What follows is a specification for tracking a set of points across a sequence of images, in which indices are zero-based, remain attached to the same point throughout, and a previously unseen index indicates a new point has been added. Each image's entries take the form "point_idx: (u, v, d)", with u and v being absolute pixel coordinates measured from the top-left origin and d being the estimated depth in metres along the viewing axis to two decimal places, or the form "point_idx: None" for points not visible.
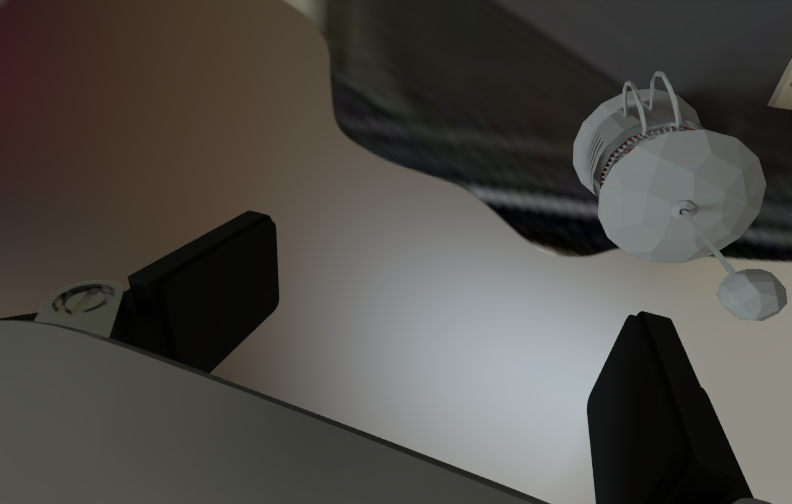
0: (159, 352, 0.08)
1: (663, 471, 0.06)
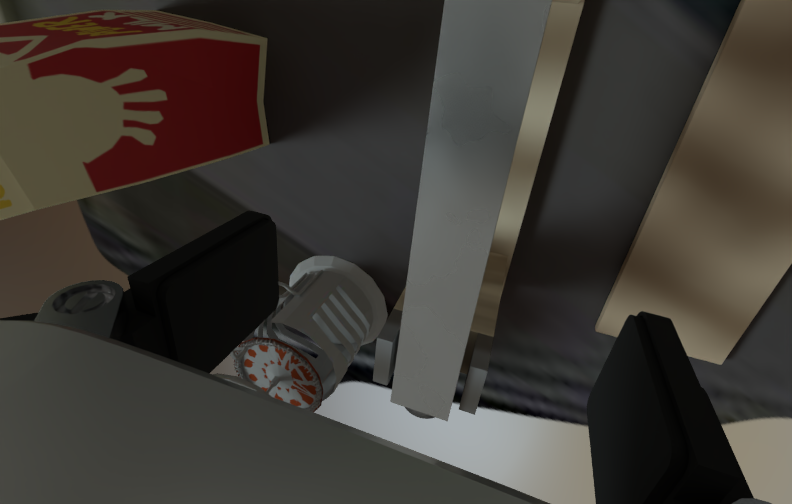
0: (159, 352, 0.08)
1: (663, 471, 0.06)
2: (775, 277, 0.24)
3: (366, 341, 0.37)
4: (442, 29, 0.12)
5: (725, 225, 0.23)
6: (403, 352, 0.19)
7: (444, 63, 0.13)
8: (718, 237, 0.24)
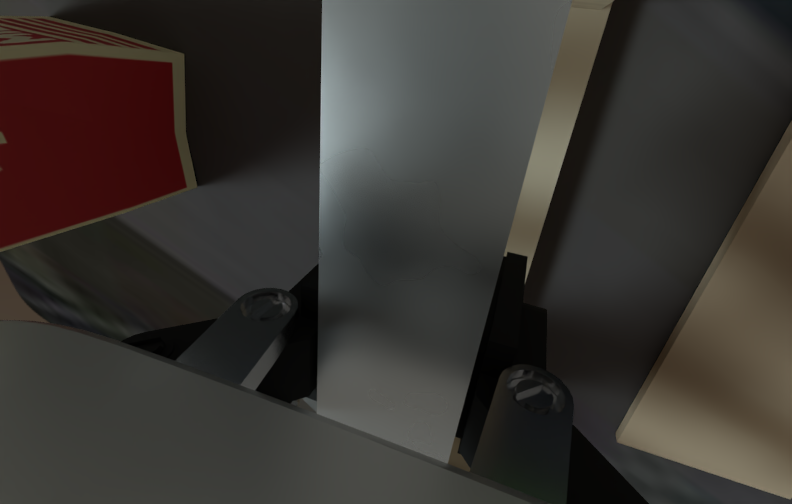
0: None
1: None
2: None
3: None
4: (324, 57, 0.05)
5: None
6: None
7: (337, 128, 0.06)
8: None
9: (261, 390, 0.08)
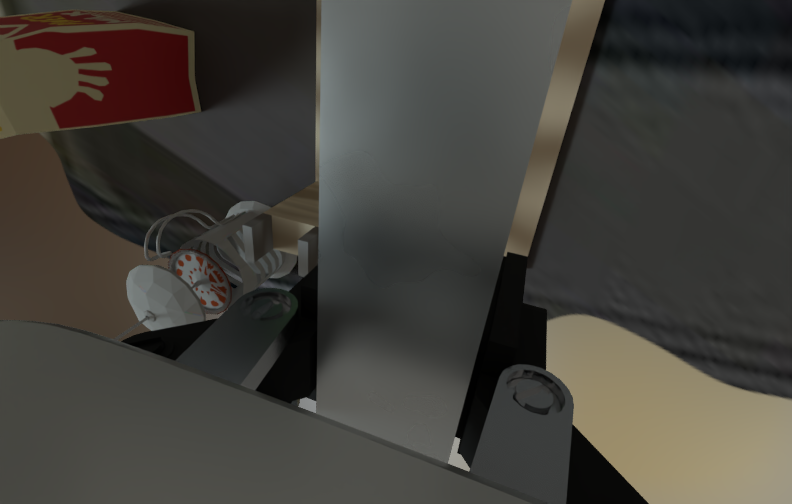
0: None
1: None
2: (541, 199, 0.34)
3: (283, 272, 0.47)
4: (323, 60, 0.05)
5: None
6: None
7: (336, 131, 0.06)
8: None
9: (261, 390, 0.08)
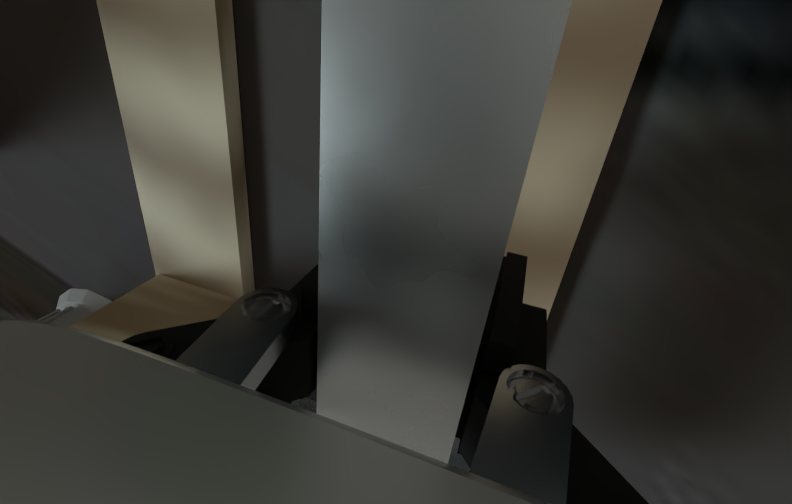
0: None
1: None
2: None
3: None
4: (324, 62, 0.05)
5: None
6: None
7: (336, 133, 0.06)
8: None
9: (261, 390, 0.08)
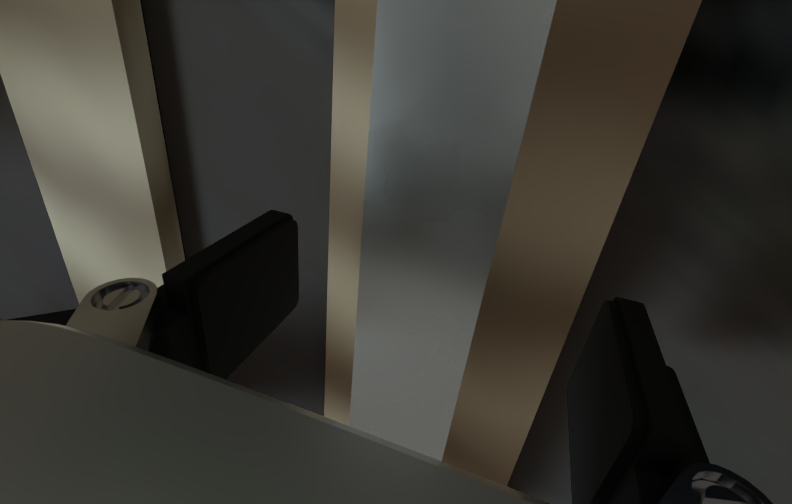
0: (190, 348, 0.09)
1: (625, 440, 0.06)
2: (525, 416, 0.14)
3: None
4: (376, 51, 0.08)
5: None
6: None
7: (383, 105, 0.08)
8: None
9: None
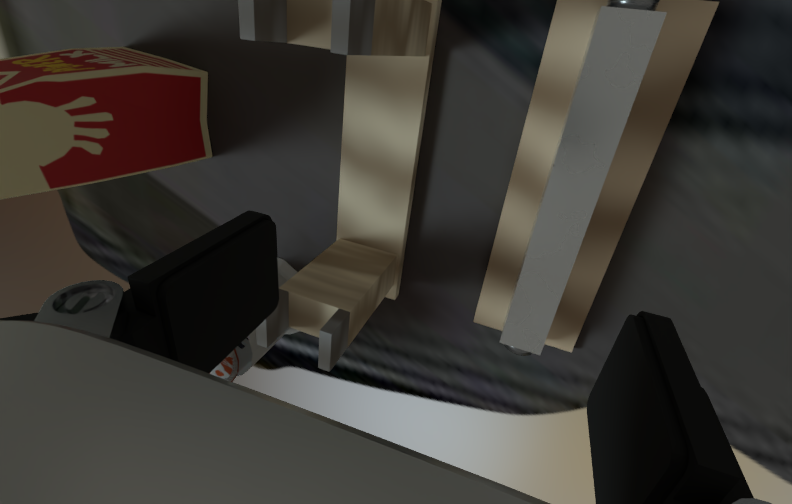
0: (159, 352, 0.08)
1: (663, 471, 0.06)
2: (598, 277, 0.29)
3: None
4: (570, 112, 0.23)
5: None
6: (515, 305, 0.29)
7: (569, 129, 0.23)
8: None
9: None
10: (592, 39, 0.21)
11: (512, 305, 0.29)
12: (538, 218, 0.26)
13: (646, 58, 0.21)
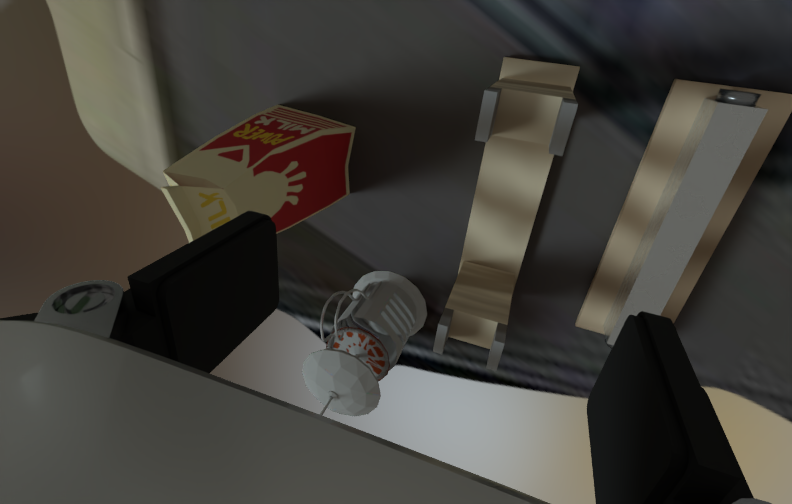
0: (159, 352, 0.08)
1: (663, 471, 0.06)
2: (688, 291, 0.37)
3: (409, 334, 0.50)
4: (685, 174, 0.31)
5: None
6: (623, 314, 0.37)
7: (683, 186, 0.31)
8: None
9: None
10: (708, 124, 0.29)
11: (621, 314, 0.37)
12: (651, 249, 0.34)
13: (749, 139, 0.28)
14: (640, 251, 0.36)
